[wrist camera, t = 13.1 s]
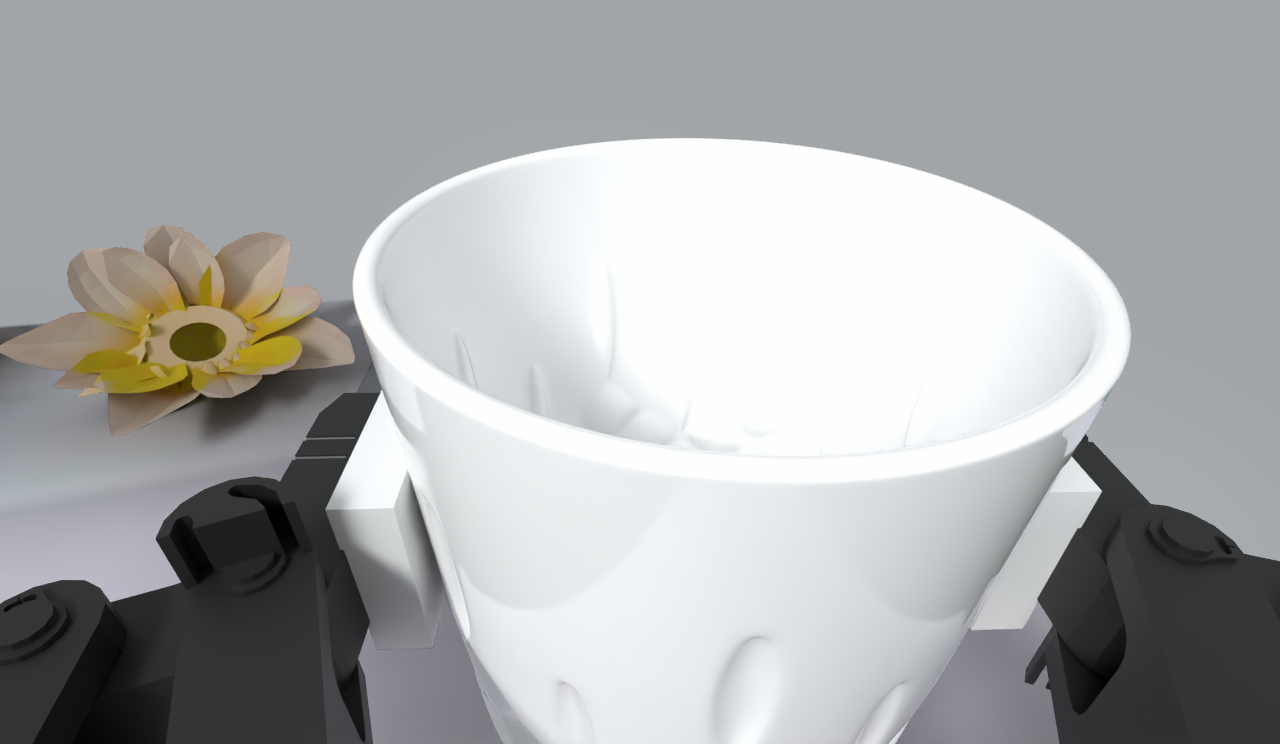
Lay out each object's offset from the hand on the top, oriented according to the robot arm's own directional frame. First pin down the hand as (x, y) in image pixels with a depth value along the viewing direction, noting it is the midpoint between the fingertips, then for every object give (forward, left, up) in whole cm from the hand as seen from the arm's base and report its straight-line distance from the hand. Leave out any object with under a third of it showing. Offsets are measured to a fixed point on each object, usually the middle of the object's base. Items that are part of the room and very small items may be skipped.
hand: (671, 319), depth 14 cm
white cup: (0, -5, -6) cm, 8 cm away
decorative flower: (-25, +20, -17) cm, 36 cm away
